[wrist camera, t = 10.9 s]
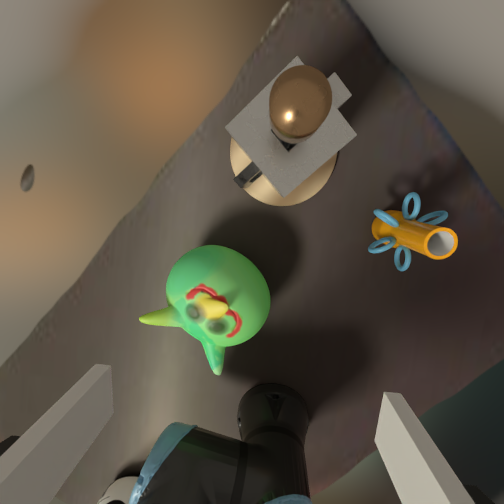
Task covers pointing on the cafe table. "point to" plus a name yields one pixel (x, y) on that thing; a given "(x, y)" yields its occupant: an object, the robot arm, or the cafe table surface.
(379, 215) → the cylinder
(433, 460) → the robot arm
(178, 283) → the toy bird
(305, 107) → the plunger
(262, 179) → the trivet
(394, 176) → the cafe table surface
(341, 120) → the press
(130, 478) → the milk container
